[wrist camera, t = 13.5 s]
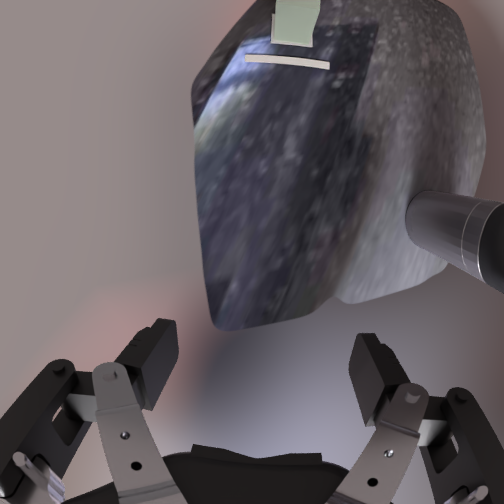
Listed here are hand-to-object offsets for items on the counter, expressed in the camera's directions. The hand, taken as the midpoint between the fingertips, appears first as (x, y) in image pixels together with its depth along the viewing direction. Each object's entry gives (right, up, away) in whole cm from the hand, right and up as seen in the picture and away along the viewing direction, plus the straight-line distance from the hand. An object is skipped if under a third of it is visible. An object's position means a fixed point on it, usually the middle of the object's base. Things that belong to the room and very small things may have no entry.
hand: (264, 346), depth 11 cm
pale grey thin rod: (+4, +31, +20) cm, 37 cm away
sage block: (+5, +37, +18) cm, 41 cm away
